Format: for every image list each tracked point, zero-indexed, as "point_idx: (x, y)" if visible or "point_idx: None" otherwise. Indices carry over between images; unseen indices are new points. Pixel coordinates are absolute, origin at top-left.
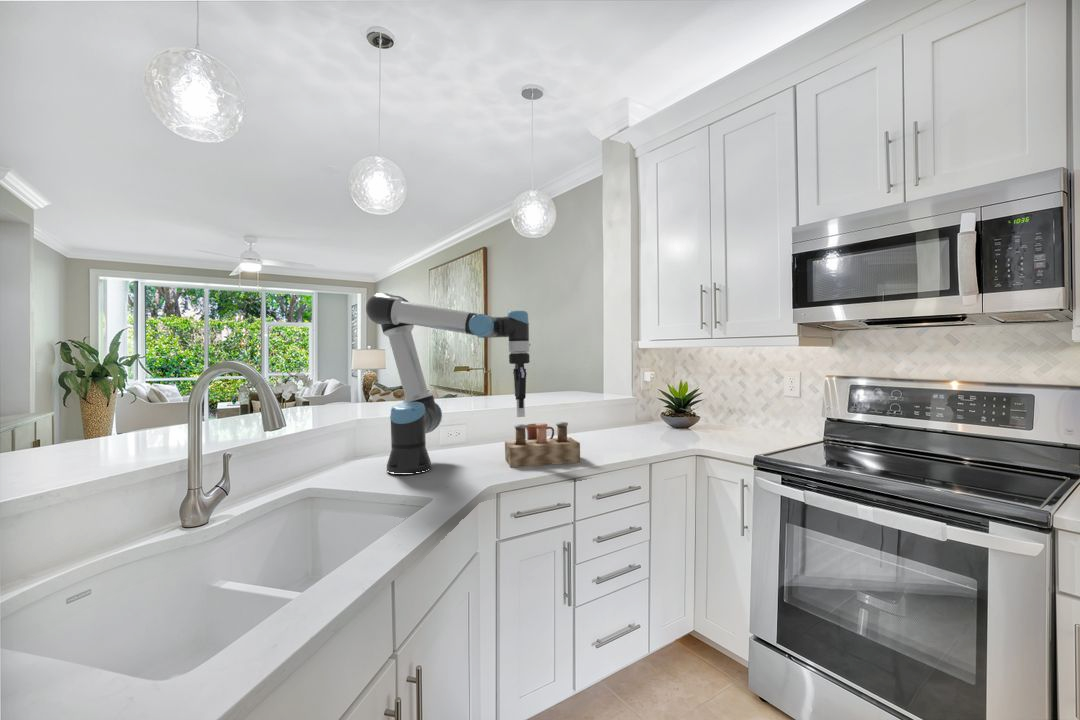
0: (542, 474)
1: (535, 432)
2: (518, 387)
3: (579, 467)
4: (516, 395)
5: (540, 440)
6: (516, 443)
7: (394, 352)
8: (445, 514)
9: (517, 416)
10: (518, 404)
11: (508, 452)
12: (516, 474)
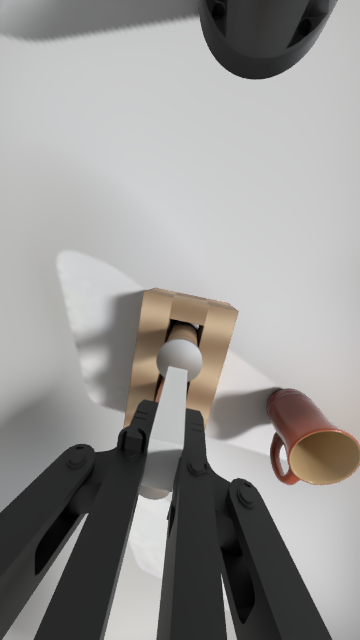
0: (77, 322)
1: (289, 430)
2: (36, 636)
3: (98, 399)
4: (192, 484)
5: (160, 387)
6: (181, 326)
7: None
8: None
9: (170, 367)
10: (156, 415)
11: (176, 295)
12: (95, 277)
